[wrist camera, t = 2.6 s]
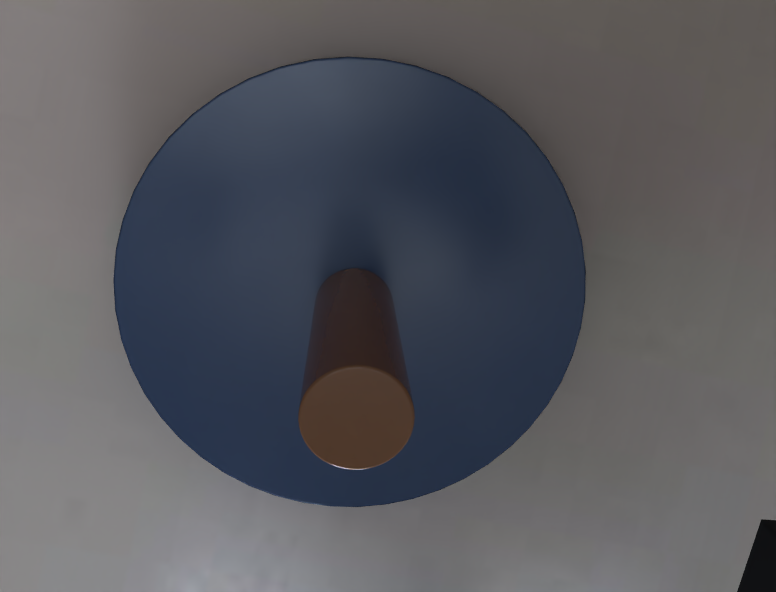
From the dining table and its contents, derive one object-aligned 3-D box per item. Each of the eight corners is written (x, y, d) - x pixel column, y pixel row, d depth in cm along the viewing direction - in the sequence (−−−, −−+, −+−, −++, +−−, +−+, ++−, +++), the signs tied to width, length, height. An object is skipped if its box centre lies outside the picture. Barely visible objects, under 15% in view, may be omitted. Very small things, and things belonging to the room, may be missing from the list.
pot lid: (619, 91, 22) (791, 101, 14) (530, 503, 27) (617, 708, 18) (127, 25, 21) (-30, -9, 12) (122, 471, 26) (4, 677, 17)
